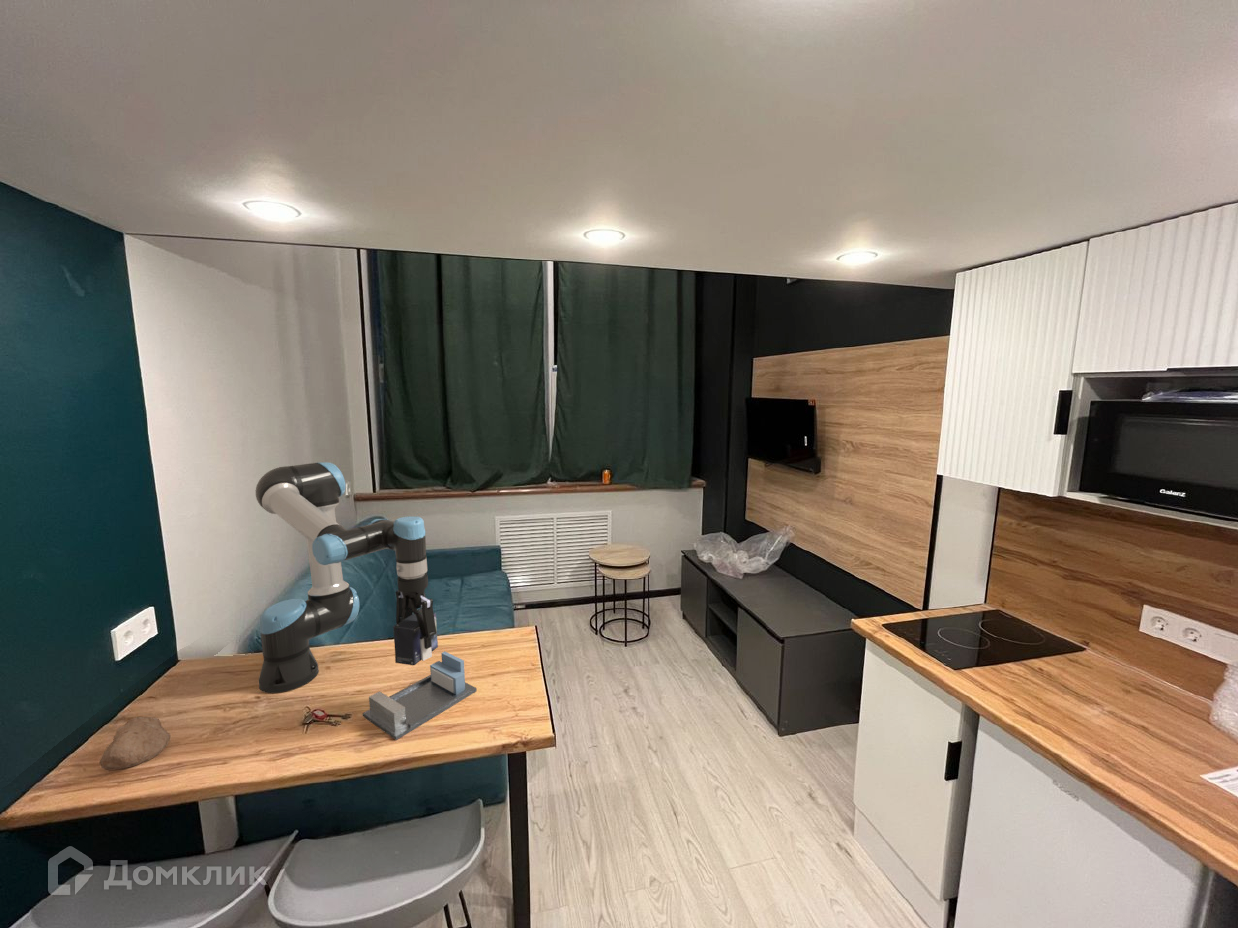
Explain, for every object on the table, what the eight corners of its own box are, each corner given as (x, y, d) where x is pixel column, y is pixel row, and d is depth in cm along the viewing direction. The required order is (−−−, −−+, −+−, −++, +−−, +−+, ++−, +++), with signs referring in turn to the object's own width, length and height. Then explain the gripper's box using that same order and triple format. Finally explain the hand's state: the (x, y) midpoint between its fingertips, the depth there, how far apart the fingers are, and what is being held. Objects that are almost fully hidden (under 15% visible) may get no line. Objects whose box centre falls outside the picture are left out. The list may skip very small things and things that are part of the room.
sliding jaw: (429, 681, 146) (428, 656, 145) (443, 674, 150) (441, 649, 149) (454, 695, 139) (453, 669, 138) (468, 687, 143) (467, 662, 142)
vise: (362, 716, 132) (361, 695, 131) (442, 673, 152) (441, 655, 151) (396, 740, 123) (394, 718, 122) (476, 691, 143) (475, 672, 142)
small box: (415, 666, 129) (412, 628, 128) (394, 663, 131) (391, 626, 129) (439, 647, 139) (437, 611, 138) (419, 644, 141) (417, 609, 139)
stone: (153, 743, 125) (121, 718, 121) (186, 723, 125) (154, 698, 122) (117, 786, 113) (80, 761, 110) (153, 764, 114) (117, 738, 110)
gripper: (378, 570, 134) (383, 648, 138) (422, 587, 123) (427, 671, 126) (403, 563, 141) (408, 637, 144) (448, 578, 129) (452, 658, 132)
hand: (417, 653), depth 135 cm, fingers closed on small box, 8 cm apart
